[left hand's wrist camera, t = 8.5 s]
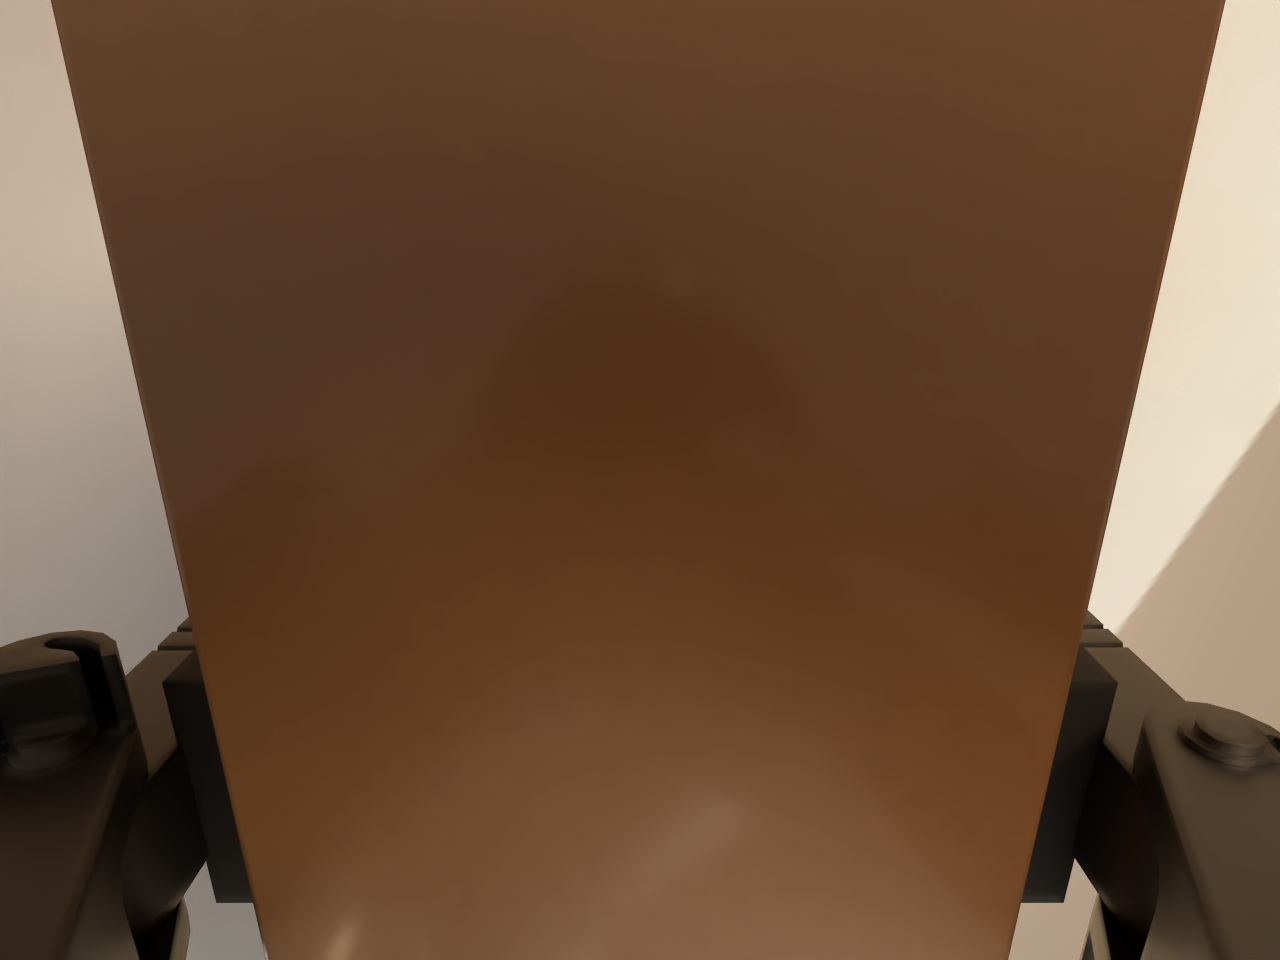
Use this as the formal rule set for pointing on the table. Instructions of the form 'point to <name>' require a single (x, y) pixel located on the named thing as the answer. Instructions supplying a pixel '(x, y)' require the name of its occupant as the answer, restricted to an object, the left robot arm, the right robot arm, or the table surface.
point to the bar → (637, 443)
